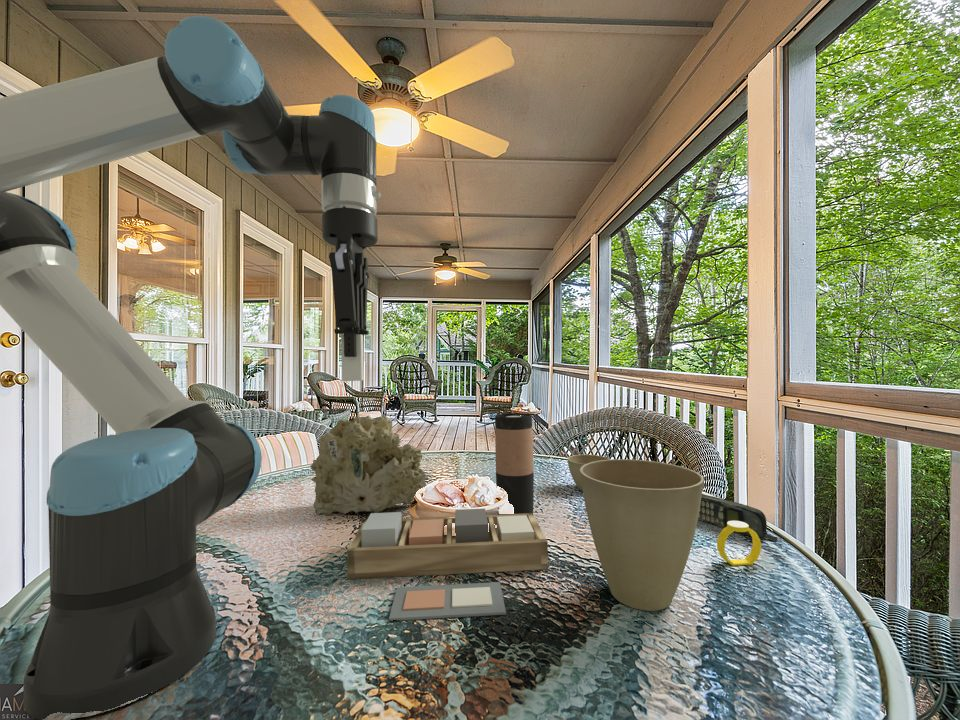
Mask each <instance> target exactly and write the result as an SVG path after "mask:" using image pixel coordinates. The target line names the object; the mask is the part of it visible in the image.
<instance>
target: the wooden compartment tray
mask: <svg viewBox="0 0 960 720" xmlns="http://www.w3.org/2000/svg"><path fill="white" fill-rule="evenodd" d="M523 515H526V516H527V518H528V520H529V522H530V524H531V526H532V528H533V530H534V540H513V541H499V539H498V535H497V528H495V525H497V517H500V516H523ZM486 516H487V520H488V523H489V532H488V534H489V542H470V543H456V536H452V523H455V518H447V517H448V516H435V517H434V516H431V517H410V518H401V521H402V531H401V534H400V537H399V540H398V543H397V546H384V547H362V533H361V530H362V528H363V526H364V524H365V523H366V521H367V519H366V520H364V522H363V524H362V525H361V527H360V528H359V530H358V531H357V533H356V536H355V537H354V539H353V540H352V542H351V544H350V545H349V547H348V549H347V550H346V558H347V559H346V562H347V564H346V565H347V566H346V567H347V580H361V579H362V580H363V579H379V578H400V577H420V576H437V575H439V576H441V575H457V574H458V575H460V574H479V573H482V574H483V573H495V572H496V573H497V572H499V573H500V572H519V571H537V570H548V569H549V554H548V553H549V552H548V551H549V549H548V546H549V545H548V542H549V541H548V540H547V538H546V536H545V535H544V532H543V530H542V529H541V527H540V525H539V522H538V521H537V519H536V516H535V515H534V512H533V513H523V514H499V515H498V514H486ZM431 519H444V526H445V525H447V535H444V544H427V545H409V535H410V532H411V528H412V524H413V521H414V520H431ZM494 524H495V525H494Z"/></svg>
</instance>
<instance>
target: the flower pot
mask: <svg viewBox="0 0 960 720" xmlns="http://www.w3.org/2000/svg"><path fill="white" fill-rule="evenodd" d="M566 460H567V465H568V469H569V472H570V475H571V478H572V480H573V482H574V484H575V486H576V487H577V488H578V489H579V490H580V491H583V488H582V482H581V475H580V468H581V467H582V466H583V465H585V464H588V463H591V462H595V461H600V460H611V459H610V458H608V457H606V456H602V455H597V454H574V455H573V454H572V455H570V456H568V457H567V459H566Z"/></svg>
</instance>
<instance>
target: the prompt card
mask: <svg viewBox="0 0 960 720" xmlns="http://www.w3.org/2000/svg"><path fill="white" fill-rule="evenodd" d="M506 610H507V609H506V607H505V601H504V596H503V591H502V586H501V582H500V581H495V582H475V583H457V584H436V585H417V586H416V585H415V586H398V587H396V590H395V594H394V598H393V601H392V606H391V610H390V612H389V617H388V622H394V621H393V620H397V621H398V620H399V621H415V620H430V619H431V620H433V619H447V618H448V619H449V618H467V617H468V618H469V617H484V616H501V615H503V616H504V615H505V616H506V615H507V611H506ZM397 621H396V622H397Z"/></svg>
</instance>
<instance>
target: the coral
mask: <svg viewBox="0 0 960 720" xmlns="http://www.w3.org/2000/svg"><path fill="white" fill-rule="evenodd" d="M318 443H319V448H318V452H319V455H318V456H317V457H316V458H315V459H313V460H312V462H313V463H311V465H310V469H311V470H312V471H313V472H315V476H314V477H312V478H310V479H309V480H310V481H312V482H313V483H315V488H314V493H315V499H314V501H313V504H312V507H313V508H314V510H315V513H316V514H317V515H319V514H327V515H331V514H333V512H335V511H337V513H339V514H344V515H345V514H348V513H350V512H355V513H354V514H357V513H359V512H373V513H381V512H382V511H384V510H385V509H387V508H388V509H390V508H392V507H394V506H397V505H398V504H403V506H406V505H410V504H412V503H411V501H412V500H413V499H414V496H415V494H416V492H417V491H418V490H419V489H421V488H423V487H425V486H428V485H427V483H426V481H427V480H429V477H428V474H426V472H424V470H422V469H421V468H420V467H421V460H423V457H424V456H423V454H422V448H423V447H415V446H414V445H411V444H410V443H407V444H404V445H402V446H401V445H400V444H401V443H402V441H401V438H400V434H398V433H395V432H393V421H392V420H390V419H389V418H388V416H387V415H382V416H380V417H378V418H372V417H371V416H370V415H366V416H355V417H354V418H353V420H351V421H350V420H349V419H345V418H342V419H338V421H337V422H336V424H335V427H331V428H330V429H329V433H328V432H327V433H325V434H324V435H321V437H320V439H319V440H318Z"/></svg>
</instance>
